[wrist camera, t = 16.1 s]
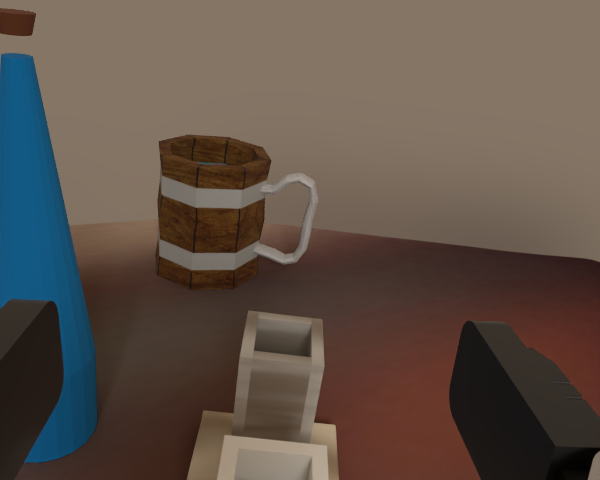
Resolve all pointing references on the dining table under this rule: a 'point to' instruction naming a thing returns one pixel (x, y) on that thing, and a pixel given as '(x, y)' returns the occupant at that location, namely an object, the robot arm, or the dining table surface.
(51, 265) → the bottle
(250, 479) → the sleeve
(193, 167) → the mug
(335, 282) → the dining table surface
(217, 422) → the peg socket fixture
